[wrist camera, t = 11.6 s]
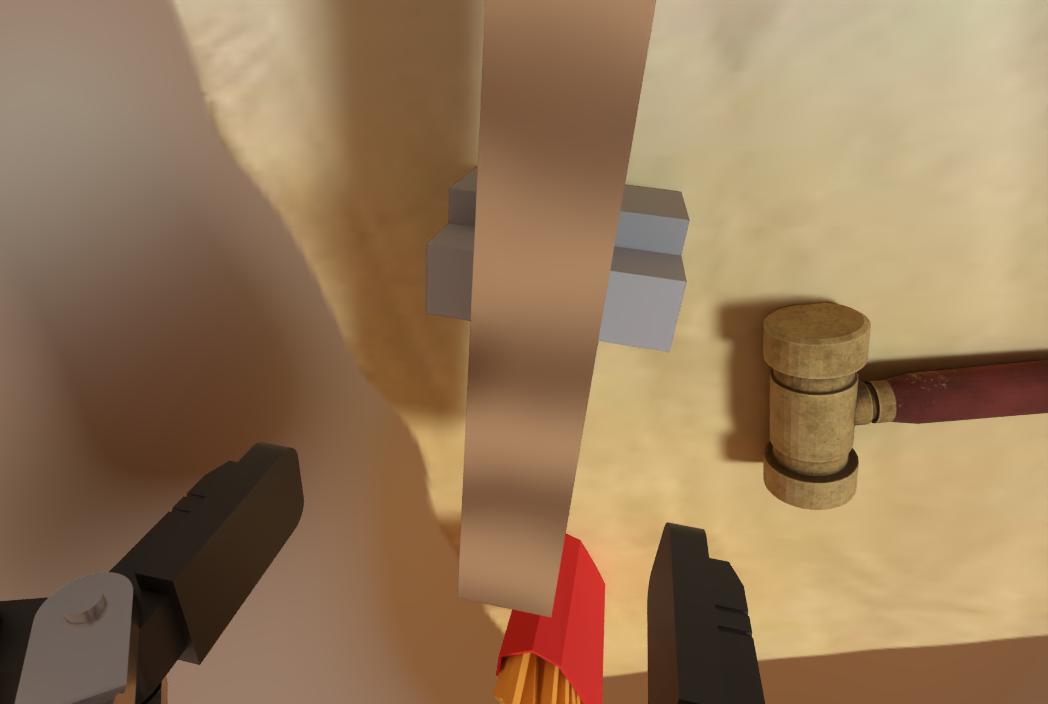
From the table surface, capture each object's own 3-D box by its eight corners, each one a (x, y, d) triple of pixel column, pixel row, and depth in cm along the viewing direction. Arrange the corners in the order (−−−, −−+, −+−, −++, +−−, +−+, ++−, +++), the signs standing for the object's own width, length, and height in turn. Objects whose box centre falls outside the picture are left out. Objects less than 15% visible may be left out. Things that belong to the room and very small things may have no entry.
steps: (477, 165, 29) (426, 205, 22) (681, 191, 28) (695, 242, 21) (472, 278, 32) (425, 345, 25) (656, 306, 30) (661, 384, 24)
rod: (528, -84, 17) (491, -127, 13) (666, -74, 17) (675, -114, 12) (484, 513, 29) (457, 597, 24) (564, 528, 28) (551, 617, 24)
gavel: (1354, 283, 22) (1256, 486, 27) (1237, 248, 26) (1169, 428, 31) (777, 346, 26) (776, 515, 30) (753, 306, 30) (754, 460, 34)
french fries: (514, 530, 40) (465, 722, 29) (570, 517, 39) (542, 714, 27) (568, 618, 43) (543, 820, 32) (621, 608, 42) (615, 818, 31)
